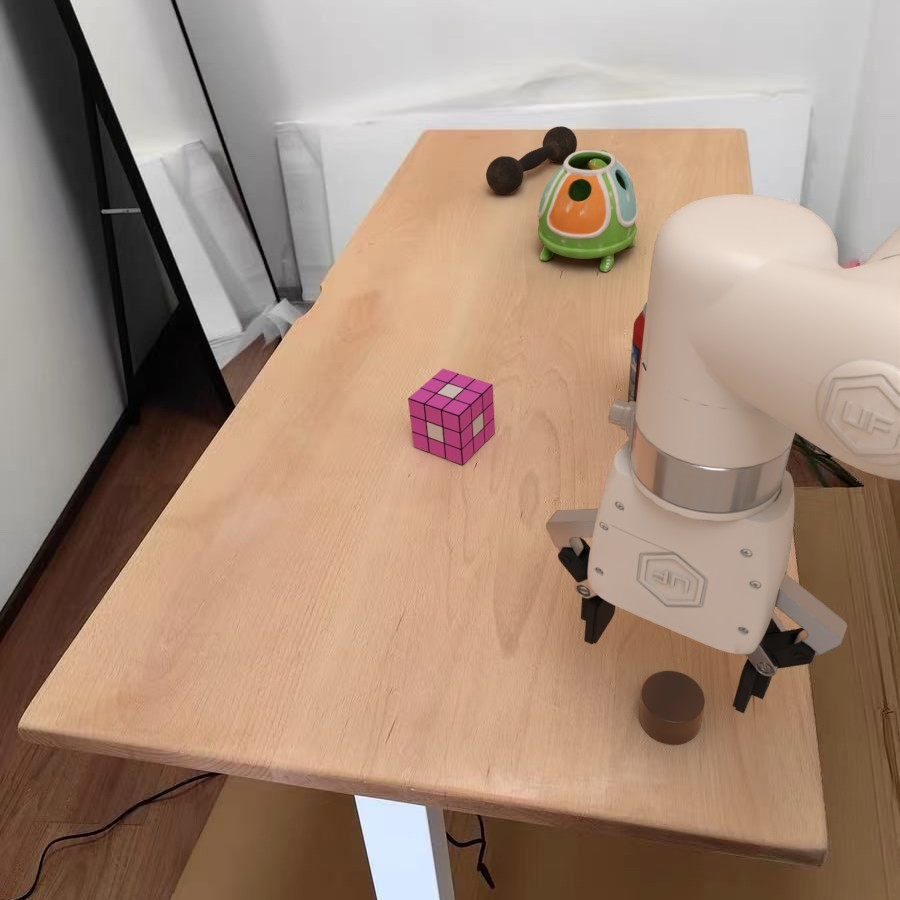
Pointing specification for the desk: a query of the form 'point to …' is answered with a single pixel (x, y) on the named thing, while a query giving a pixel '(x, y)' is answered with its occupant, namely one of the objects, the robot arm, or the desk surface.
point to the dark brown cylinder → (671, 707)
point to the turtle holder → (588, 209)
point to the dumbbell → (530, 160)
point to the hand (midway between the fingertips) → (669, 659)
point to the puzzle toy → (452, 415)
